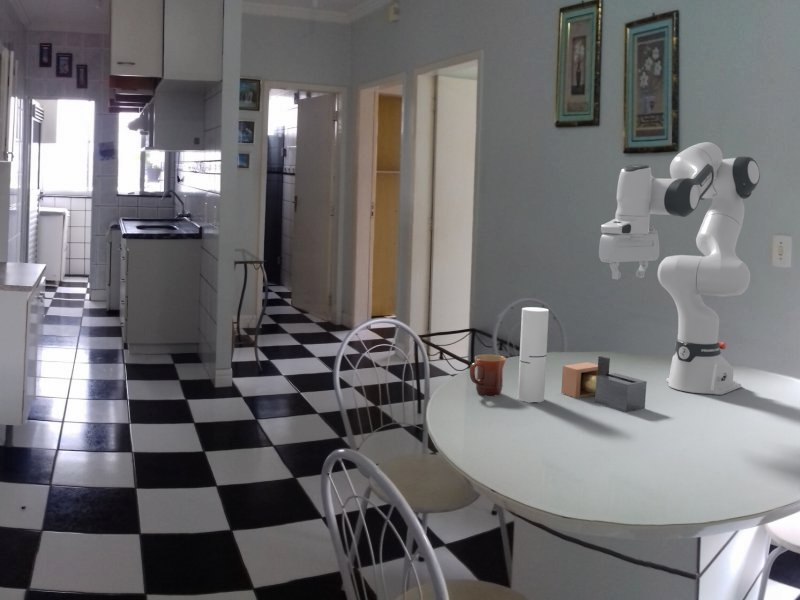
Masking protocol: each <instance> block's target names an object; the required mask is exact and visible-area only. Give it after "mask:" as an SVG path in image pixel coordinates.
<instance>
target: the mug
mask: <svg viewBox="0 0 800 600" xmlns="http://www.w3.org/2000/svg"><path fill="white" fill-rule="evenodd" d="M474 360H475V362H473V363H472V364H471V365H469V366H470V367H469V378H470V380H471V381H472V383H473V384H475V389H476V392H477V393H478V394H479V395H480V394H481V396H484V395H487V396H486V397H496V396H495V395H497V396H499V395H501V394H502V391H503V386H504V385H503V384H504V383H503V382H504V368H505V367H504V366H505V364H506V361H507V358H506V357H505V356H502V355H498V354H478V355H477V354H476V355H475V356H474Z"/></svg>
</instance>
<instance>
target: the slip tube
mask: <svg viewBox="0 0 800 600" xmlns="http://www.w3.org/2000/svg"><path fill="white" fill-rule="evenodd" d="M610 362H611V358H610V357H606V356H604V355H600V356H598V360H597V365H598V373H597V376H599V375H606V376H609V374H610V366H611V365H610ZM580 390H583V391H587V392H590V393H593V394H594V395H595V392H596V375H592V374H588V373H585V372H582V373H581V382H580Z"/></svg>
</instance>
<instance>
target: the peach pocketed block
mask: <svg viewBox="0 0 800 600" xmlns="http://www.w3.org/2000/svg"><path fill="white" fill-rule="evenodd" d="M561 371H562V373H561V374H562V375H561V393H560V394H562V393H563V394H562V395H565V394H566V395H565V396H568V395H569V396H568V397H571V396H572V398H574V399H576V398H577V399H578V398H582V397H588V396H594V395H595V394H593V393H590V392H587V391H583V390H580V382H581V373H582V372H585V373H588V374H592V375H596V376H597V373H598V364H596V363H593V362H592V363H591V362H589V361H586V362H580V363H574V364H573V363H571V364H566V365H562V370H561Z"/></svg>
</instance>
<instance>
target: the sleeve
mask: <svg viewBox="0 0 800 600" xmlns="http://www.w3.org/2000/svg"><path fill="white" fill-rule="evenodd" d="M594 395H595V396H594V403H596V404H598V403H599V404H598V405H601V404H602V406H604V405H605V407H608V408H611V409H614V410H617V411H620V412H624V413H630V412H634V411H640V410H644V409H646V396H647V381H646V380H643V379H640V378H636V377H632V376H628V375H624V374H620V373H618V372H612V373H609V376H606V375H599V376H596V392H595V394H594Z"/></svg>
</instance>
